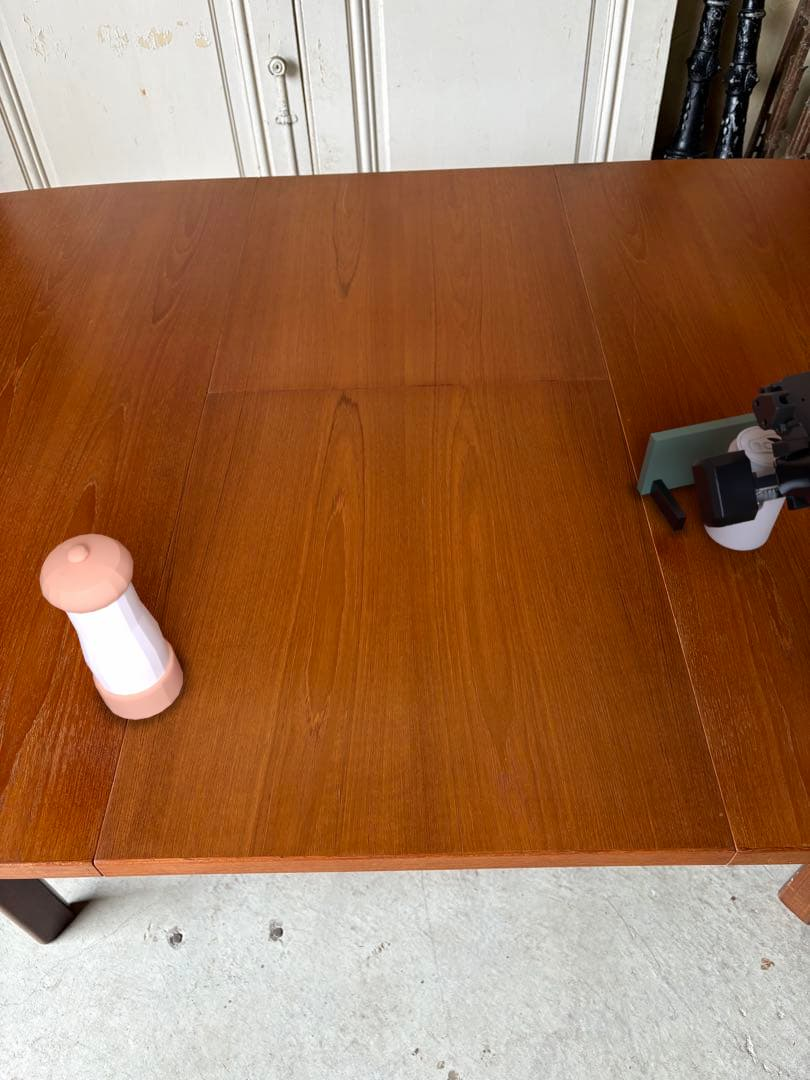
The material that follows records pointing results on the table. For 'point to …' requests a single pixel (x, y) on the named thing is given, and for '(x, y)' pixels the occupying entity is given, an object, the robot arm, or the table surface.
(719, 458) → the robot arm
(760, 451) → the beverage can
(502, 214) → the table surface
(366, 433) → the table surface
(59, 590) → the pepper shaker
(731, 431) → the rack bay
